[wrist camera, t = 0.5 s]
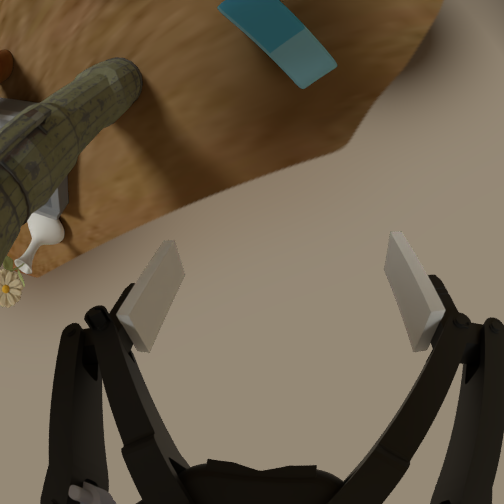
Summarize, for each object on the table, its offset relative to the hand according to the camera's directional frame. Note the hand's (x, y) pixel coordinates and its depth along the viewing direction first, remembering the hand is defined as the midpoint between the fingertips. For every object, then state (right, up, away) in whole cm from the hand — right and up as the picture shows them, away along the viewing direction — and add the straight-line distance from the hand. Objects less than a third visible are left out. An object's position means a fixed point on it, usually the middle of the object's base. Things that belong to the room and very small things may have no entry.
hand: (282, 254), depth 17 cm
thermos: (-21, +25, +15) cm, 36 cm away
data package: (+1, +28, +10) cm, 30 cm away
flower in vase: (-50, +8, +36) cm, 62 cm away
